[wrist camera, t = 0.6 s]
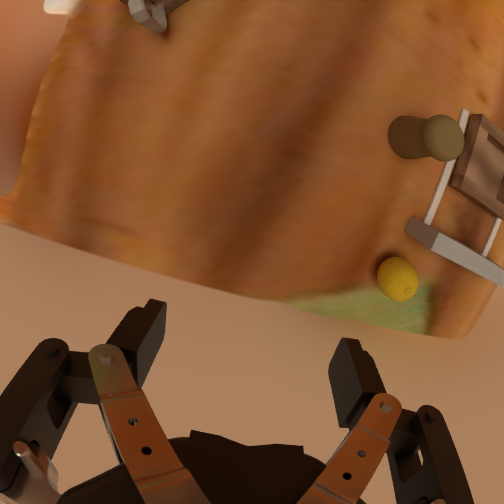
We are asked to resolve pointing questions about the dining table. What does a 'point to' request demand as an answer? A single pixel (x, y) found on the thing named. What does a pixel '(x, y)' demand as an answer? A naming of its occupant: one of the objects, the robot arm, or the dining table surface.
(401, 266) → the lemon
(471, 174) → the socket block
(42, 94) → the dining table surface
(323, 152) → the dining table surface
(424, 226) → the backstop
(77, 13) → the dining table surface
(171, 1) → the mug
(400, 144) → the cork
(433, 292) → the dining table surface
